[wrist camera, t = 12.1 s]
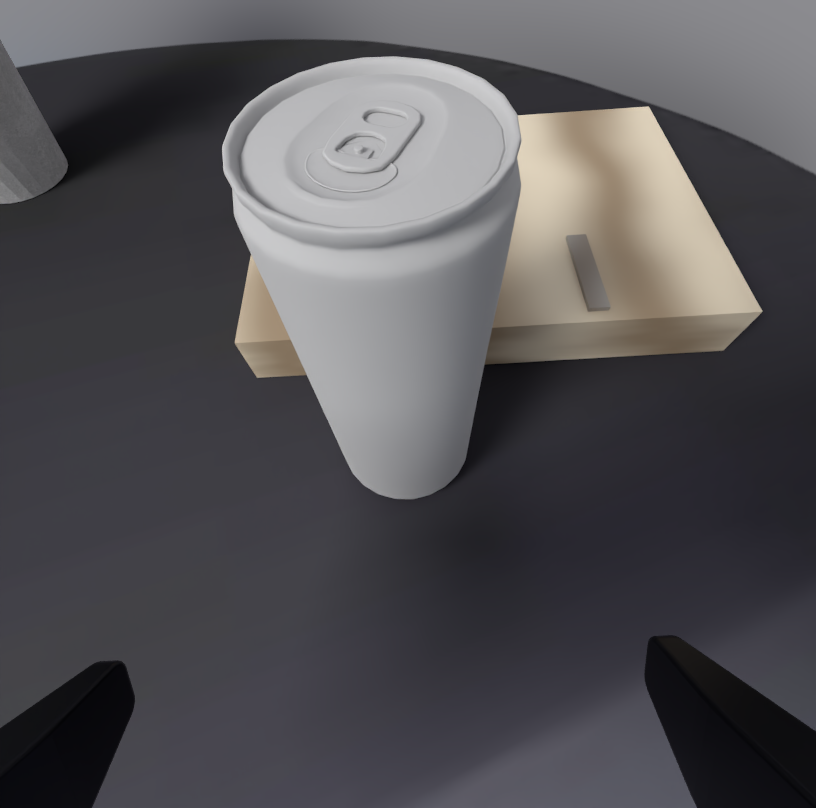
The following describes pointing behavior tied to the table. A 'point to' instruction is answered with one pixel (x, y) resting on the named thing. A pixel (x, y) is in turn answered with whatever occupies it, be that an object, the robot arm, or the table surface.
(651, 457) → the table surface
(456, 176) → the beverage can
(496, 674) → the table surface
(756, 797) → the robot arm
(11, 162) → the house plant
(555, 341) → the chopping board
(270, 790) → the table surface
